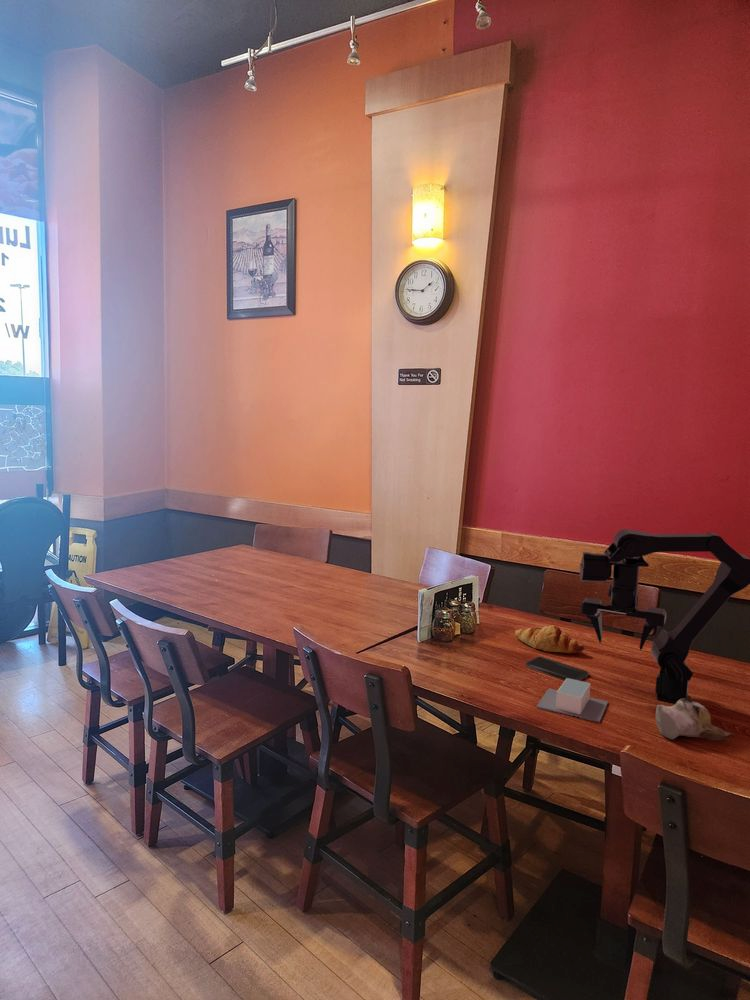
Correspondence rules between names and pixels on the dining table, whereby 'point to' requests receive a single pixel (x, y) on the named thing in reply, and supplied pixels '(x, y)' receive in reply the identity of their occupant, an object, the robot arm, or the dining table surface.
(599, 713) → the mat
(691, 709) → the ceramic sculpture
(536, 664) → the phone
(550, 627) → the croissant
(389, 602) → the dining table surface
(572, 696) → the card box
